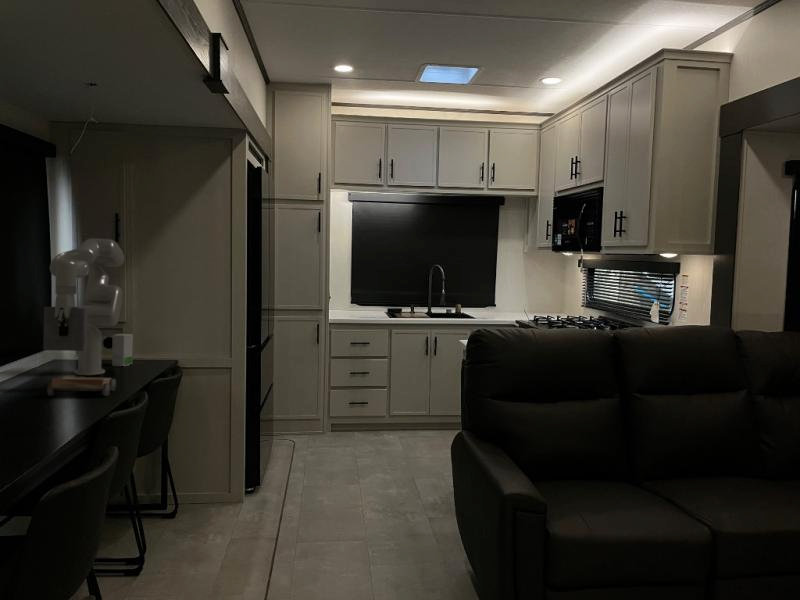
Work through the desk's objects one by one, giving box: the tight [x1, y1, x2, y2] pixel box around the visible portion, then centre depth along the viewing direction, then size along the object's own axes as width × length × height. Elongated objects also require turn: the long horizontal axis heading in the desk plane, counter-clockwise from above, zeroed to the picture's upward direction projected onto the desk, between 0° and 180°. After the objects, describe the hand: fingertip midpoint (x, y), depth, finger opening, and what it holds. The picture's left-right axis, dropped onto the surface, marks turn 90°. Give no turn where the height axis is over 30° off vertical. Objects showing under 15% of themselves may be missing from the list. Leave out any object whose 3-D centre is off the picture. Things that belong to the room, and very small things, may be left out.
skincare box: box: [111, 333, 134, 367], centre depth 298 cm, size 8×7×16 cm
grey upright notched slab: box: [43, 306, 87, 352], centre depth 244 cm, size 16×4×20 cm, turn 102°
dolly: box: [46, 376, 117, 397], centre depth 238 cm, size 14×21×7 cm, turn 102°
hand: (65, 334), depth 244 cm, fingers closed on grey upright notched slab, 3 cm apart
